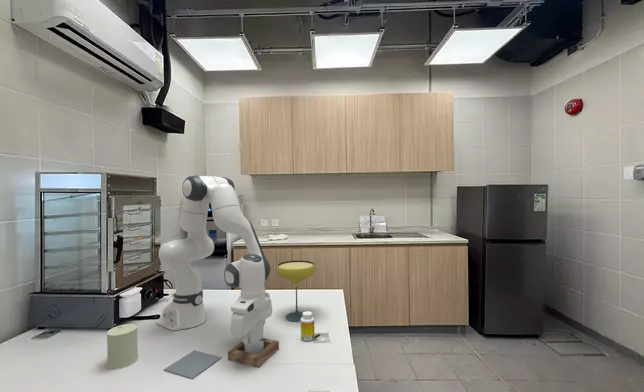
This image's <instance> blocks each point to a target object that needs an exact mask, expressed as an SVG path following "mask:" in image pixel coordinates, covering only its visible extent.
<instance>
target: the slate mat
mask: <svg viewBox="0 0 644 392" xmlns="http://www.w3.org/2000/svg"><path fill="white" fill-rule="evenodd" d="M221 359H222V356H219V355H214V354H210V353H206V352H203V351H197V350H192V351H191V352H189V353H188V354H186V355H184V356H183V357H181V358H180V359H178V360H176V361H174V362H173V363H172V364H170V365H168V366H167V367H165V368H164V369H163V371H164V370H165V371H164V372H166V373H171V374H173V373H174V375H177V376H181V377H184V378H186V379H191V380H194V379H195V378H196V377H199V375H201V374H202V373H203V372H205V371H207V370H208V369H209V368H210V367H211V366H213V365H214V364H216V363H218V361H220V360H221Z"/></svg>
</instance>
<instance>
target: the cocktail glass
mask: <svg viewBox="0 0 644 392" xmlns="http://www.w3.org/2000/svg"><path fill="white" fill-rule="evenodd" d="M315 271H316V265H315V263H314V262H312V261H310V260H309V261H308V260H289V261H282V262H280V263H278V264H277V265H276V272H277V275H278V276H279V277H280V278H282V279H283V280H286V281H289V282H291V283H292V285H293V286H294V287H295V310H294V311H292V312H290V313H288V314H286V315H285V320H286V321H288V322H295V323H297V322H301V318H302V316H303V312H304V311H299V307H298V286H299V285H301V283H302V282H303V281H305V280H307V279H308V278H310V277H312V275H314V274H315Z"/></svg>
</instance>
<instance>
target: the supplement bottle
mask: <svg viewBox="0 0 644 392" xmlns="http://www.w3.org/2000/svg"><path fill="white" fill-rule="evenodd" d="M302 312H303V316H302V318H301V321H300V339H301V340H302V341H305V342H310V341H313V340H314V339H315V317H314V316H313V312H312V311H302Z"/></svg>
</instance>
